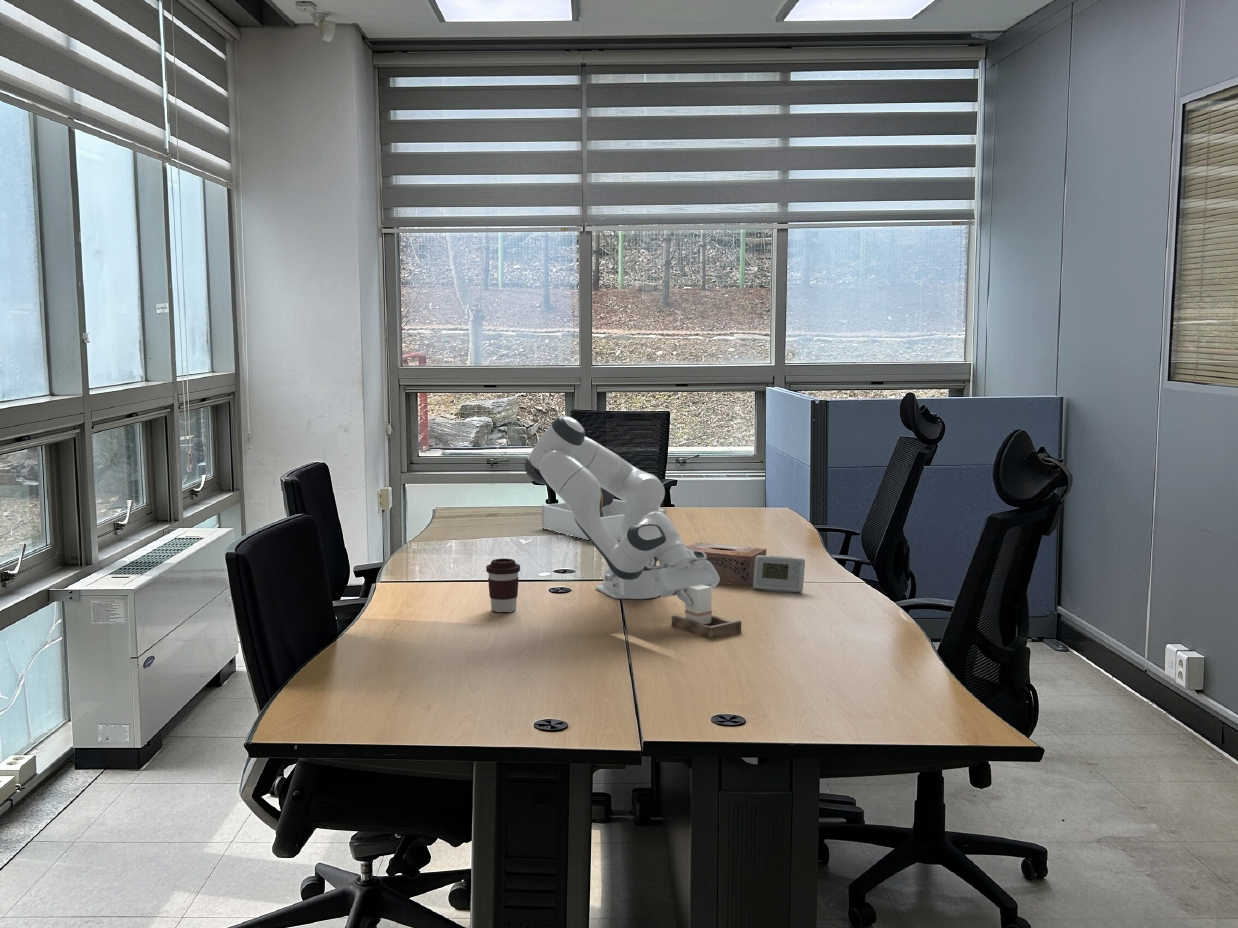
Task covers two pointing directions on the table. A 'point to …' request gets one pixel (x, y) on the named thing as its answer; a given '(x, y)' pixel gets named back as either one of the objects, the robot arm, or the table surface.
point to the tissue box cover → (731, 561)
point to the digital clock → (779, 573)
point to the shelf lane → (708, 626)
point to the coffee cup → (503, 584)
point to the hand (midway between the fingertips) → (699, 603)
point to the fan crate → (564, 522)
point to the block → (699, 604)
